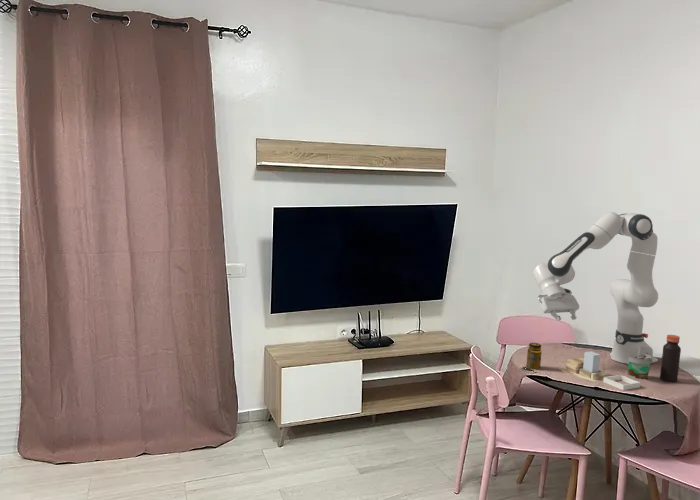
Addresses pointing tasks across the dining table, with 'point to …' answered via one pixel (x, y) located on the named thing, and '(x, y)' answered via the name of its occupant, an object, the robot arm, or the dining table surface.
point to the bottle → (670, 359)
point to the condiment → (533, 358)
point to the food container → (639, 366)
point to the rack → (587, 375)
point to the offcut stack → (574, 364)
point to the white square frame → (631, 382)
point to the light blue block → (591, 362)
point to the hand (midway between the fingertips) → (566, 319)
